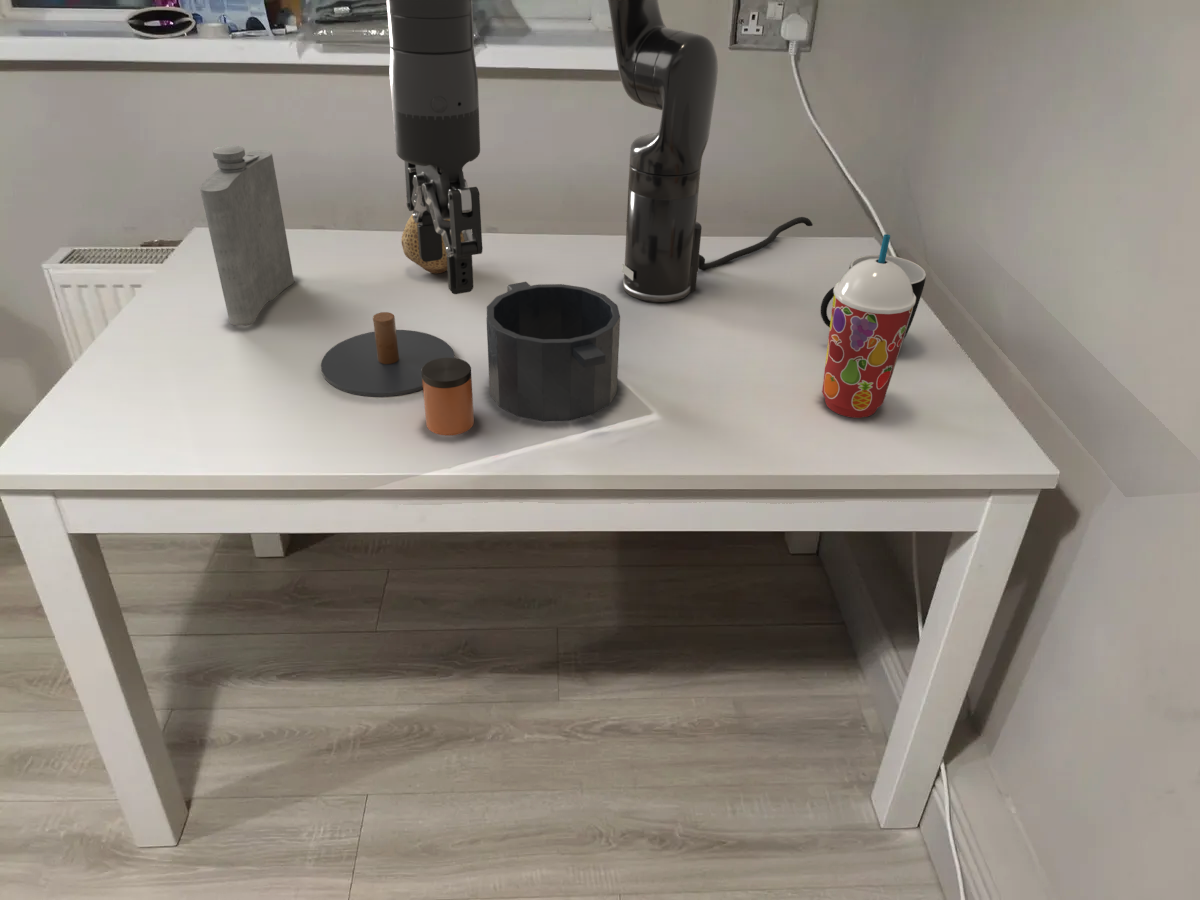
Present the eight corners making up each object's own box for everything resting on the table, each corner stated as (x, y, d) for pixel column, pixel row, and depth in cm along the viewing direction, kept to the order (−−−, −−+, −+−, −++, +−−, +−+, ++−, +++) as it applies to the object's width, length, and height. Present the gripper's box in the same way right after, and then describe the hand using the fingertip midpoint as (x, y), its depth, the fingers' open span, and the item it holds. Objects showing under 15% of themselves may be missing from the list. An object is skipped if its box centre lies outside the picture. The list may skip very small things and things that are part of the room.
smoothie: (891, 394, 105) (932, 227, 94) (885, 431, 99) (928, 256, 87) (818, 381, 107) (849, 216, 96) (808, 416, 101) (840, 243, 90)
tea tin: (464, 410, 100) (460, 353, 96) (481, 432, 96) (478, 375, 92) (420, 420, 98) (414, 363, 94) (436, 444, 94) (430, 385, 90)
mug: (891, 326, 120) (908, 253, 114) (919, 359, 112) (939, 283, 107) (803, 329, 118) (815, 256, 113) (826, 363, 111) (841, 286, 105)
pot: (570, 342, 114) (571, 267, 108) (650, 419, 99) (656, 337, 94) (463, 365, 108) (458, 287, 102) (531, 450, 94) (530, 365, 88)
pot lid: (430, 328, 116) (425, 279, 112) (474, 383, 105) (471, 331, 101) (308, 352, 109) (299, 302, 106) (342, 413, 98) (333, 359, 95)
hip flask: (250, 330, 114) (217, 170, 102) (219, 328, 114) (182, 167, 103) (297, 278, 127) (272, 131, 115) (269, 276, 127) (241, 129, 116)
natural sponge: (472, 285, 127) (468, 215, 121) (407, 290, 125) (400, 219, 119) (465, 260, 134) (461, 193, 128) (403, 264, 132) (396, 196, 126)
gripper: (506, 118, 76) (509, 297, 85) (448, 81, 87) (456, 244, 96) (420, 125, 73) (432, 310, 82) (370, 86, 84) (386, 254, 93)
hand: (445, 275), depth 89 cm, fingers open, 8 cm apart
